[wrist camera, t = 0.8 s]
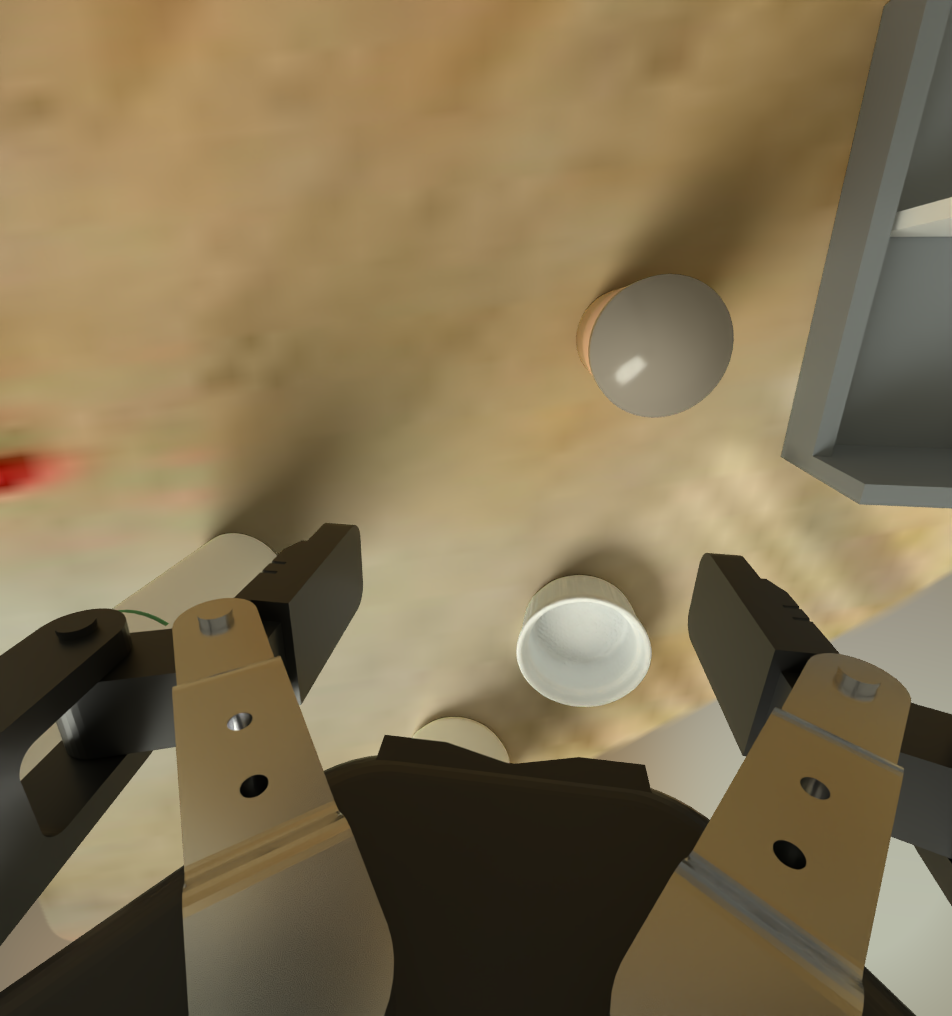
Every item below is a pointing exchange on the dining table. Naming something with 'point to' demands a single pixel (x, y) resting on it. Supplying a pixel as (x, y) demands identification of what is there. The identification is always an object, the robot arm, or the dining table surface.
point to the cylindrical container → (180, 599)
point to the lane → (887, 287)
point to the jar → (656, 344)
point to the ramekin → (582, 642)
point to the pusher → (925, 220)
